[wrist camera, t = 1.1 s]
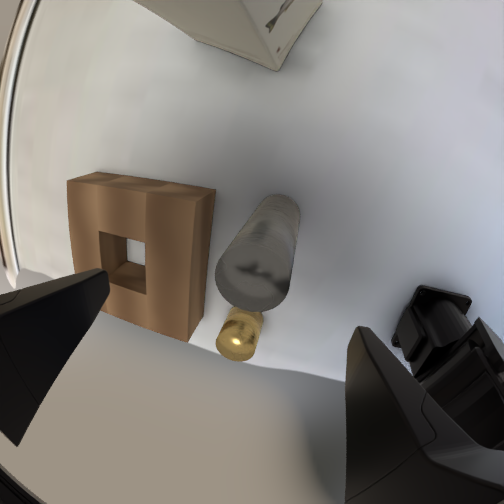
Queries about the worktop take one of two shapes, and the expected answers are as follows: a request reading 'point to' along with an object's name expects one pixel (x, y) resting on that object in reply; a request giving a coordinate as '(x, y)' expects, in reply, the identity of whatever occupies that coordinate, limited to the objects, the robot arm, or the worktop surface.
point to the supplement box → (240, 24)
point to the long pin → (261, 257)
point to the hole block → (156, 246)
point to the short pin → (239, 334)
